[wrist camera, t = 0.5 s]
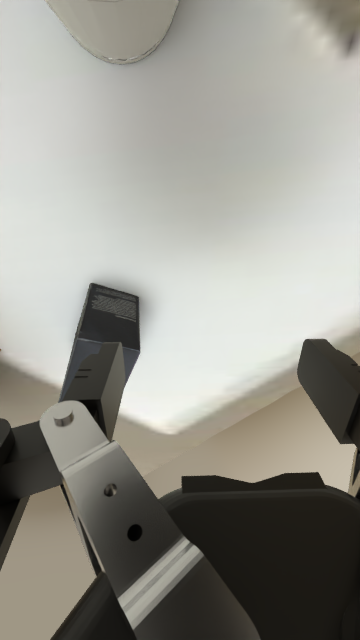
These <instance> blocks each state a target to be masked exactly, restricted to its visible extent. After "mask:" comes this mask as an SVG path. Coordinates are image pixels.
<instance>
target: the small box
mask: <svg viewBox="0 0 360 640" xmlns="http://www.w3.org/2000/svg"><path fill="white" fill-rule="evenodd" d="M104 342H121V344H122V349H123V358H124V366H125V385H126V383H127V381H128V378H129V376H130V374H131V372H132V370H133V367H134V365H135V363H136V361H137V359H138V357H139V354H140V329H139V297H137V296H134V295H131V294H128V293H124V292H121V291H117V290H114V289H110V288H107V287H103V286H100V285H97V284H93V283H91V284H90V285H89V289H88V292H87V296H86V299H85V303H84V306H83V310H82V313H81V317H80V321H79V323H78V327H77V332H76V334H75V339H74V344H73V347H72V351H71V356H70V360H69V364H68V368H67V371H66V375H65V379H64V383H63V387H62V391H61V394H60V398H59V402H58V403H60V402H62V400H63V398H64V396H65V394H66V392H67V390H68V388H69V386H70V384H71V382H72V380H73V378H75V374H76V372H77V371H78V368H79V366H80V364H81V363H82V361H83V360H84V359H85V358H87V357H88V356H89V355H90V354H98V353H99V351H100V348H101V346H102V344H103V343H104ZM124 387H125V386H124Z"/></svg>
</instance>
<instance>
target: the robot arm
mask: <svg viewBox="0 0 360 640" xmlns="http://www.w3.org/2000/svg"><path fill="white" fill-rule="evenodd" d="M45 1H46V3H47V4H48V5H49V7H50V8H51V9H52V10H53V12H54V13H55V14H56V16H57V17H58V19H59V20H60V21H61V22H62V24H63V25H64V26H65V28H66V29H67V30H68V31H69V33H70V34H71V35H72V36H73V37H74V38H75V39H76V41H77V42H78V43H79V44H80V45H81V46H82V47H83V48H84V49H86V50H87V51H88V52H90V53H91V54H92V55H94V56H95V57H98V58H100V59H102V60H104V61H106V62H110V63H116V64H128V63H134V62H136V61H139V60H141V59H143V58H145V57H146V56H148V55H149V54H150V53H151V52H153V51H154V50H155V49H156V47H157V46H158V45H159V44H160V42H161V41H162V40H163V39H164V37H165V35H166V33H167V31H168V29H169V27H170V25H171V22H172V19H173V16H174V13H175V11H176V8H177V6H178V3H179V0H45ZM297 375H298V379H299V382H300V383H301V385H302V387H303V388H304V390H305V391H306V393H307V394H308V395H309V397H310V399H311V400H312V401H313V403H314V405H315V406H316V408H317V409H318V411H319V412H320V414H321V416H322V417H323V419H324V420H325V422H326V423H327V425H328V426H329V428H330V429H331V430H332V432H333V434H334V435H335V437H336V438H337V440H338V441H339V443H340V444H355V445H356V447H357V448H356V451H355V453H354V459H353V464H352V471H351V476H350V483H349V489H348V493H346V492H344V491H342V490H339V489H337V488H334V487H331V486H328V485H325V484H324V482H323V480H322V478H321V476H320V475H319V473H318V472H315V473H314V472H313V473H312V472H311V473H284V474H281V475H279V476H275V477H272V478H269V479H266V480H263V481H259V482H256V483H248V482H244V481H239V480H234V479H230V478H225V477H220V476H216V475H213V476H182V488H180V489H177V490H174V491H172V492H170V493H168V494H166V495H164V496H163V497H161V498H160V499H157V497H156V496H155V494H154V493H153V492H152V490H151V489H150V488H149V486H148V485H147V483H146V482H145V480H144V479H143V477H142V476H141V475H140V473H139V472H138V470H137V469H136V468H135V466H134V465H133V463H132V462H131V461H130V459H129V458H128V456H127V455H126V454H125V452H124V451H123V449H122V448H121V446H120V445H119V444H118V443H117V442H116V441H115V440H113V441H112V437H113V432H114V428H115V424H116V420H117V415H118V411H119V407H120V403H121V398H122V394H123V390H124V386H125V366H124V358H123V349H122V344H121V342H104V343H103V344H102V346H101V348H100V351H99V353H98V354H90V355H89V356H88V357H87V358H85V359H84V360H83V361H82V363H81V364H80V366H79V368H78V371H77V372H76V374H75V378H73V380H72V382H71V384H70V386H69V388H68V390H67V392H66V394H65V396H64V398H63V400H62V402H60V403H58V404H55V405H53V406H52V407H50V408H49V409H48V410H46V411H45V412H44V414H43V415H42V417H41V418H40V420H39V421H37V422H34V423H30V424H26V425H22V426H19V427H15V428H11V426H10V424H9V422H8V421H7V420H5V419H1V418H0V570H1V568H2V565H3V563H4V560H5V557H6V555H7V553H8V550H9V547H10V545H11V542H12V540H13V537H14V535H15V533H16V530H17V527H18V525H19V522H20V520H21V517H22V515H23V512H24V510H25V507H26V505H27V502H28V500H29V497H30V495H32V494H35V493H38V492H41V491H44V490H47V489H50V488H53V487H56V486H59V487H60V489H61V492H62V494H63V496H64V499H65V501H66V504H67V506H68V509H69V511H70V513H71V516H72V518H73V521H74V523H75V525H76V528H77V530H78V533H79V535H80V538H81V541H82V544H83V547H84V549H85V552H86V555H87V557H88V560H89V562H90V565H91V567H92V570H93V572H94V575H95V577H96V578H95V580H94V581H93V583H92V584H91V585H90V587H89V588H88V589H87V591H86V592H85V593H84V595H83V596H82V598H81V599H80V600H79V602H78V603H77V604H76V606H75V607H74V608H73V610H72V611H71V612H70V614H69V615H68V616H67V618H66V619H65V620H64V622H63V623H62V624H61V626H60V627H59V629H58V630H57V631H56V632H55V634H54V635H53V637H52V638H51V639H50V640H360V366H358V364H357V363H356V362H355V361H354V360H353V359H352V358H351V357H350V356H348V355H346V354H344V353H343V352H341V351H339V350H336V349H335V348H334V347H333V346H332V345H331V344H330V343H329V342H328V341H327V340H326V339H306V340H305V341H304V343H303V346H302V351H301V355H300V360H299V364H298V369H297Z"/></svg>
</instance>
